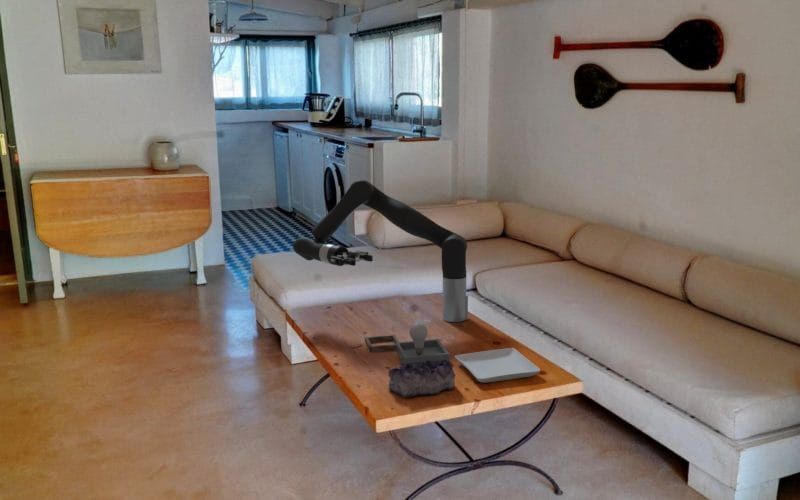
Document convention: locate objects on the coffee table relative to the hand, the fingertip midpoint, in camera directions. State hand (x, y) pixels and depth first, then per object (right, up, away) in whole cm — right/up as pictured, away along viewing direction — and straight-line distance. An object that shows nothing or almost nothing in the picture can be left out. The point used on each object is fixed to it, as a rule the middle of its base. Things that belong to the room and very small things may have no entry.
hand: (363, 260), depth 255 cm
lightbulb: (+20, -31, -18) cm, 41 cm away
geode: (+20, -38, -44) cm, 62 cm away
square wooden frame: (+7, -30, -6) cm, 31 cm away
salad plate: (+44, -35, -31) cm, 64 cm away
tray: (+21, -32, -18) cm, 42 cm away
